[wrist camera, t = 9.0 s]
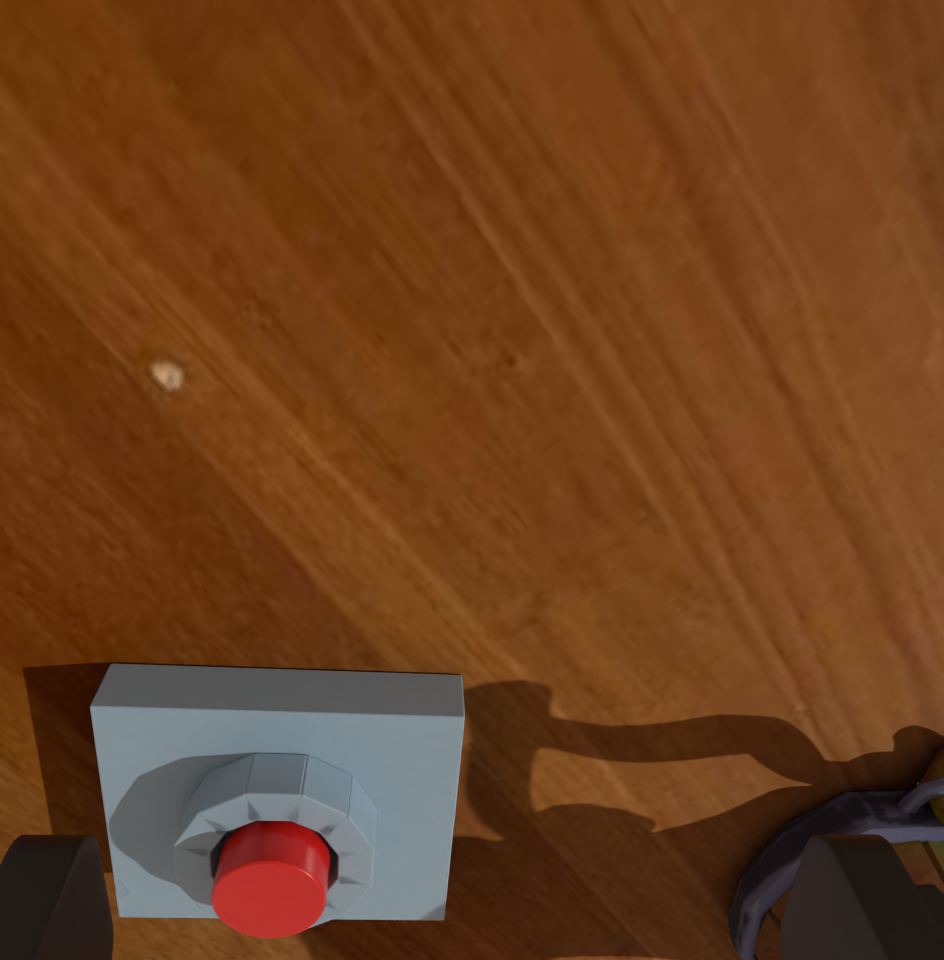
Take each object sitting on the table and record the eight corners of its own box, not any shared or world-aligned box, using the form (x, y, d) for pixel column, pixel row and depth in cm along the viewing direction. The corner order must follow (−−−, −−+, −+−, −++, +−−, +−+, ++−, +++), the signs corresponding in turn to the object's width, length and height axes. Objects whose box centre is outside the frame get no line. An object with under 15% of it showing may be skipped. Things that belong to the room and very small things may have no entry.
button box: (135, 867, 35) (103, 963, 31) (110, 662, 30) (69, 747, 27) (443, 872, 36) (445, 965, 32) (462, 673, 31) (467, 757, 28)
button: (223, 892, 30) (213, 939, 29) (219, 816, 29) (207, 861, 27) (329, 894, 31) (325, 940, 29) (331, 818, 29) (326, 863, 28)
